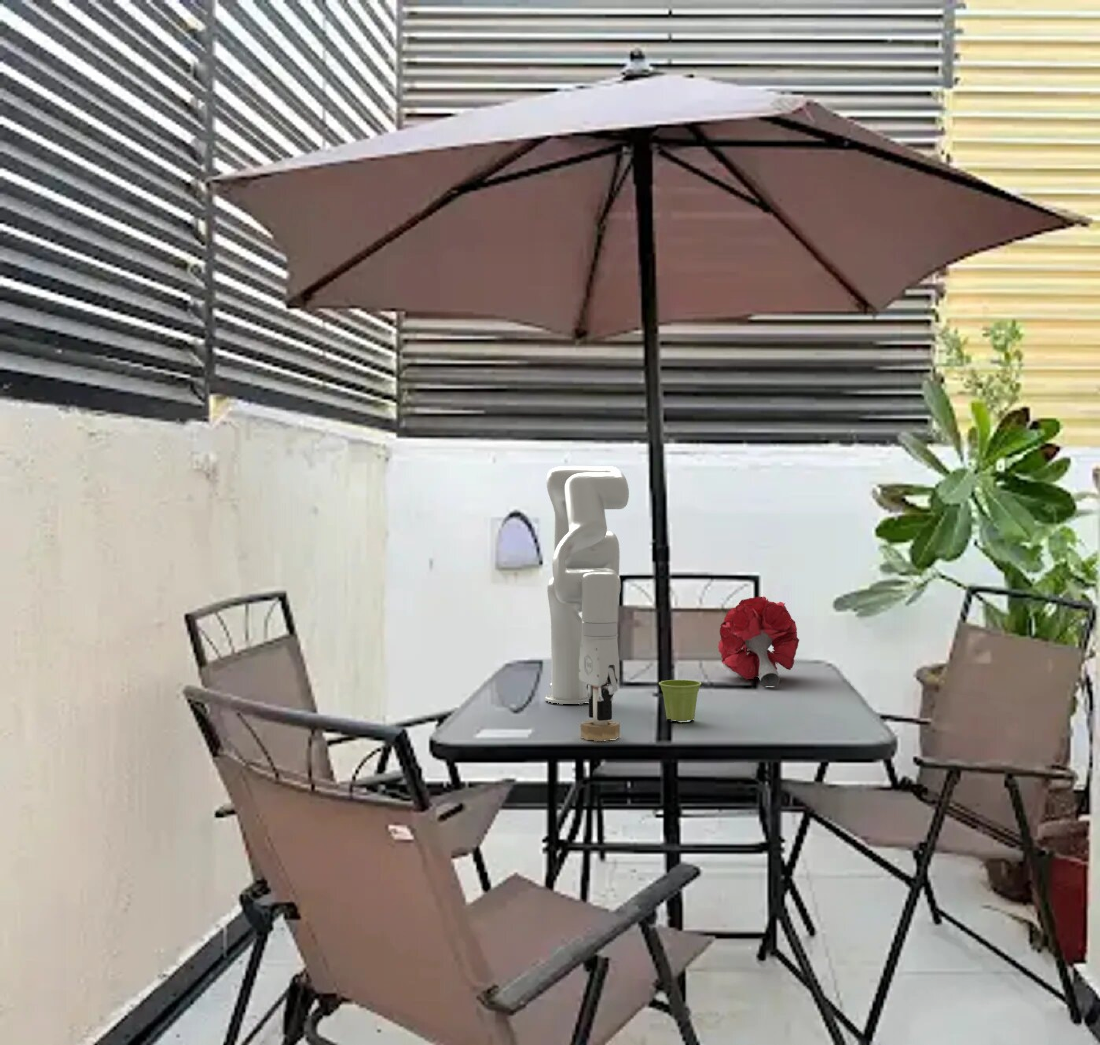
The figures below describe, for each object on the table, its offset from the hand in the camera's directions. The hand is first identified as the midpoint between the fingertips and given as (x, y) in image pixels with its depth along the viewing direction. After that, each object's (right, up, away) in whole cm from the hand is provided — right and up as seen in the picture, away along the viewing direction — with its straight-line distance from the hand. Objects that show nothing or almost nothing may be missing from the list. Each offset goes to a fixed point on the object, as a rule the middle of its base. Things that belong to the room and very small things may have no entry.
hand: (600, 717), depth 249 cm
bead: (0, -4, 0) cm, 4 cm away
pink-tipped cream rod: (0, -3, 0) cm, 3 cm away
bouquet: (+47, -3, +78) cm, 91 cm away
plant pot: (+19, -4, +19) cm, 27 cm away
